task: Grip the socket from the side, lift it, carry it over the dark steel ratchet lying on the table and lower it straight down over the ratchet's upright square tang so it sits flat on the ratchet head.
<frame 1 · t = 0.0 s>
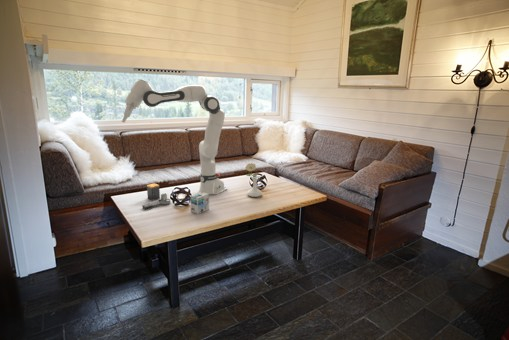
hand: (123, 121, 199), 54 cm above the table, tool tilted 30°, fingers open, 8 cm apart
flower in vase: (253, 195, 227), on the table
light bulb box: (200, 210, 197), on the table
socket: (153, 198, 215), on the table
ratchet: (164, 203, 207), on the table
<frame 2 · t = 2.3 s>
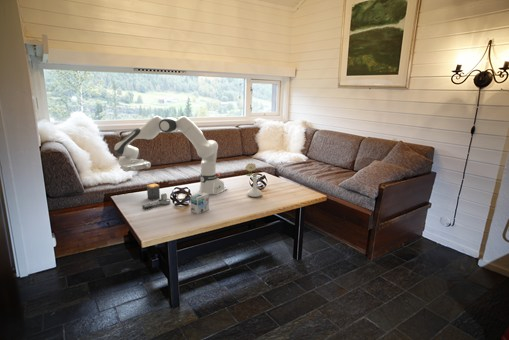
hand: (142, 168, 218), 20 cm above the table, tool horizontal, fingers open, 8 cm apart
nothing on the table moved.
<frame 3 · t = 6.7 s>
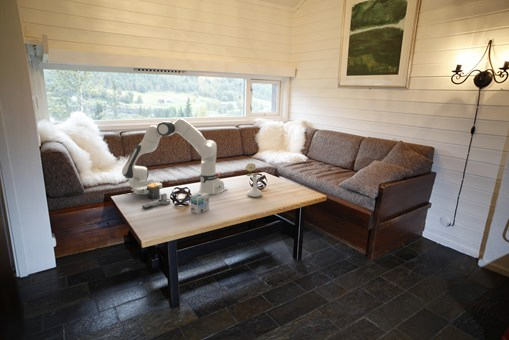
hand: (154, 190, 213), 6 cm above the table, tool horizontal, fingers closed on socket, 6 cm apart
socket: (153, 198, 215), on the table, touching gripper
everything else where it was.
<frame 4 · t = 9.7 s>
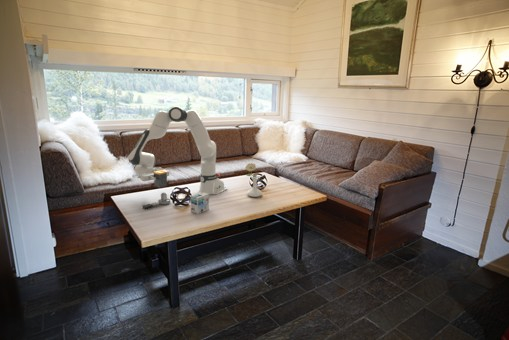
hand: (161, 177, 204), 18 cm above the table, tool horizontal, fingers closed on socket, 6 cm apart
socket: (160, 185, 206), point 12 cm above the table, touching gripper
everything else where it was.
when the fingers open (9 cm above the table, at t = 12.7 s): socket drops 1 cm, resting on ratchet.
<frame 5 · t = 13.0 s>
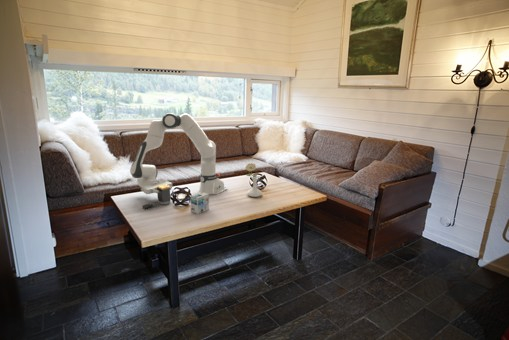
hand: (164, 190, 204), 9 cm above the table, tool horizontal, fingers open, 8 cm apart
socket: (164, 200, 207), point 2 cm above the table, touching ratchet
everything else where it was.
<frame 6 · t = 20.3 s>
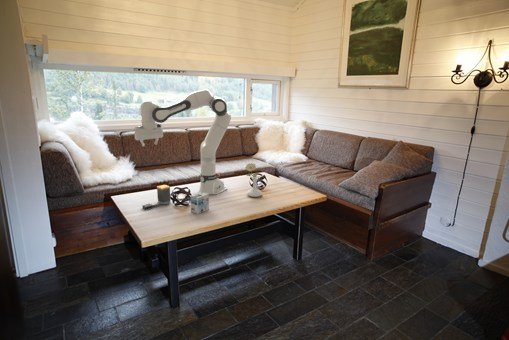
hand: (149, 145, 212), 37 cm above the table, tool pointing down, fingers open, 8 cm apart
nothing on the table moved.
at the end: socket 0.0 cm from the ratchet (horizontally); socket point 2.0 cm above the table; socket tilted 0° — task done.
